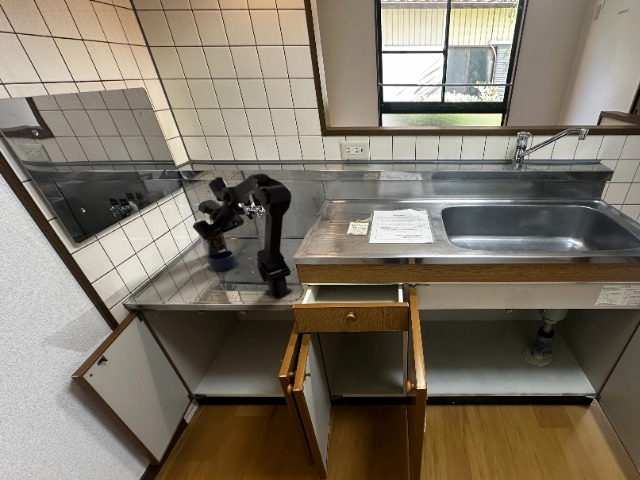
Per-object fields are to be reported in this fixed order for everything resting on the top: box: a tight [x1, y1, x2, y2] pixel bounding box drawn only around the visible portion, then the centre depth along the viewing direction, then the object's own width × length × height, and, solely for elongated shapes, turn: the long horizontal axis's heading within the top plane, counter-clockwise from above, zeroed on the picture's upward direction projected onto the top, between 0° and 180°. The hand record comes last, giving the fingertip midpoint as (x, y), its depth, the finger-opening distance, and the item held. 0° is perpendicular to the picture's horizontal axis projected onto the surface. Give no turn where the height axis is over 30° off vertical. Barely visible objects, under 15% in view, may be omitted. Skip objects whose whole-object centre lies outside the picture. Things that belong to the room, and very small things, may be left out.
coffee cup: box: [195, 217, 213, 256], centre depth 135 cm, size 10×10×15 cm
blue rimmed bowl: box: [206, 249, 237, 272], centre depth 130 cm, size 10×10×5 cm
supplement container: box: [205, 229, 228, 256], centre depth 125 cm, size 7×7×10 cm
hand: (211, 236), depth 124 cm, fingers closed on supplement container, 7 cm apart
